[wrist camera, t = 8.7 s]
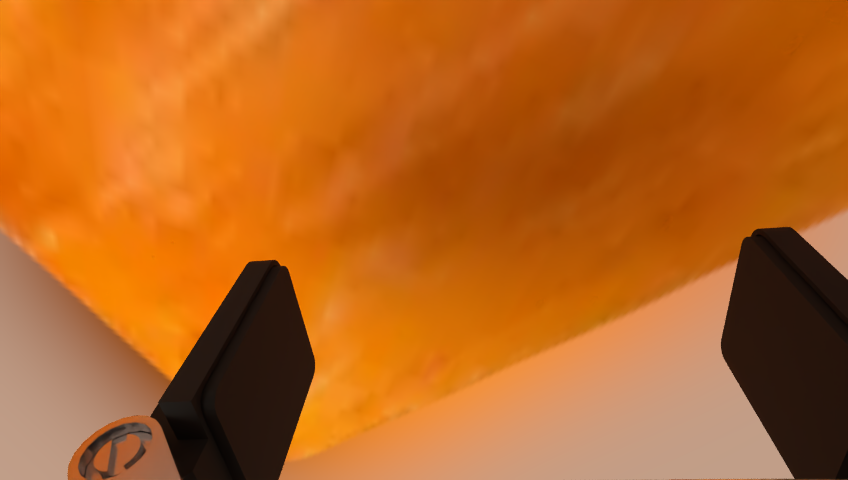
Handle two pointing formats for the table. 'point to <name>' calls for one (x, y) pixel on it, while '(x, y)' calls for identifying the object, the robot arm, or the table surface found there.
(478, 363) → the table surface
